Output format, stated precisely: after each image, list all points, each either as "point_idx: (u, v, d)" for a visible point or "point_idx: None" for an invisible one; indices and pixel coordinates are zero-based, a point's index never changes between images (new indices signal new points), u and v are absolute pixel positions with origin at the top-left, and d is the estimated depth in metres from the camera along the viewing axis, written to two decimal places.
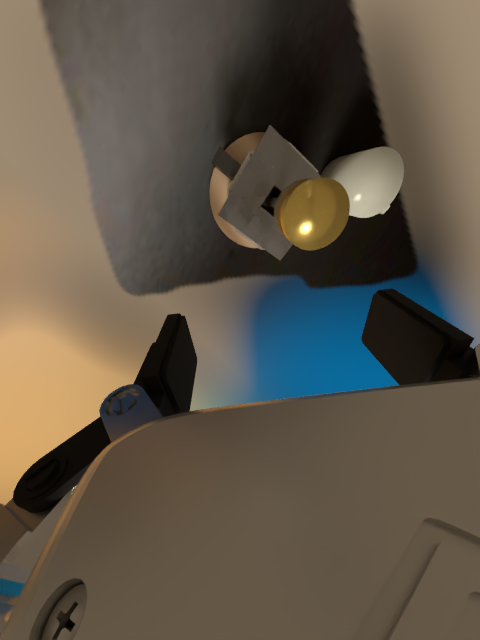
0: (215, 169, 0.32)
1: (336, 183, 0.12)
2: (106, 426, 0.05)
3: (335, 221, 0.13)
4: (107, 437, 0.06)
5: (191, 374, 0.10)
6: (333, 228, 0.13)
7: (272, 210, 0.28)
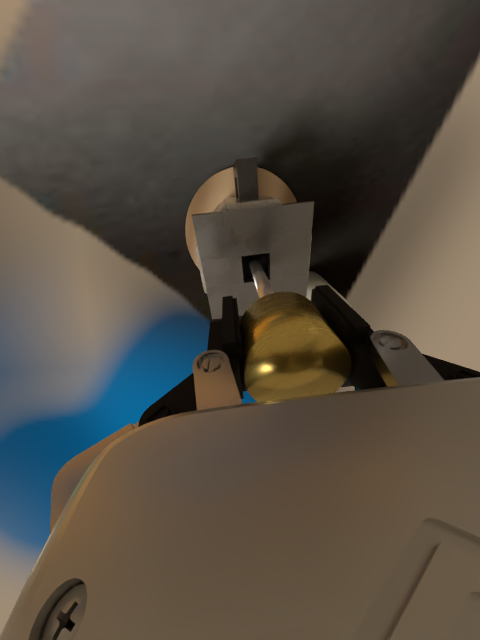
0: (231, 169, 0.25)
1: (348, 364, 0.08)
2: (195, 377, 0.07)
3: (307, 394, 0.09)
4: (193, 385, 0.07)
5: None
6: None
7: (246, 265, 0.23)
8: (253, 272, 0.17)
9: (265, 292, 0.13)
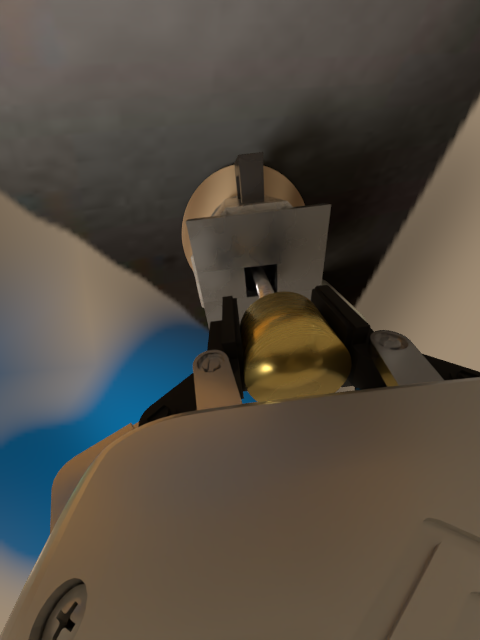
0: (232, 167, 0.22)
1: (348, 364, 0.08)
2: (195, 377, 0.07)
3: (307, 394, 0.09)
4: (193, 385, 0.07)
5: None
6: None
7: None
8: (253, 272, 0.17)
9: (265, 292, 0.13)
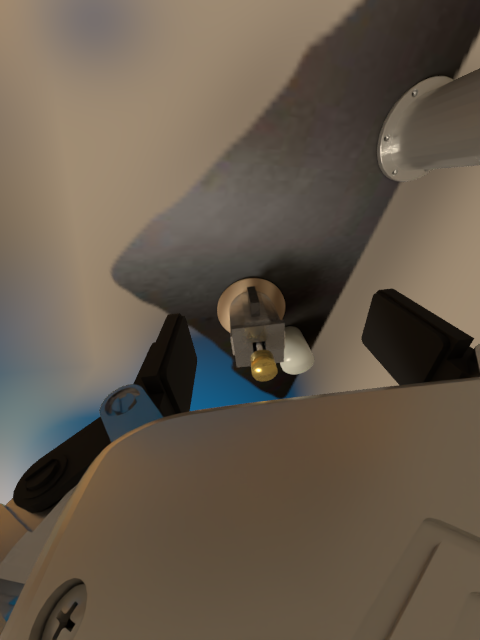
0: (244, 280, 0.45)
1: (276, 369, 0.33)
2: (106, 426, 0.05)
3: (267, 377, 0.34)
4: (107, 437, 0.06)
5: (191, 374, 0.10)
6: (265, 378, 0.34)
7: None
8: None
9: (258, 344, 0.38)
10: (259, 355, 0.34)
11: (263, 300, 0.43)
